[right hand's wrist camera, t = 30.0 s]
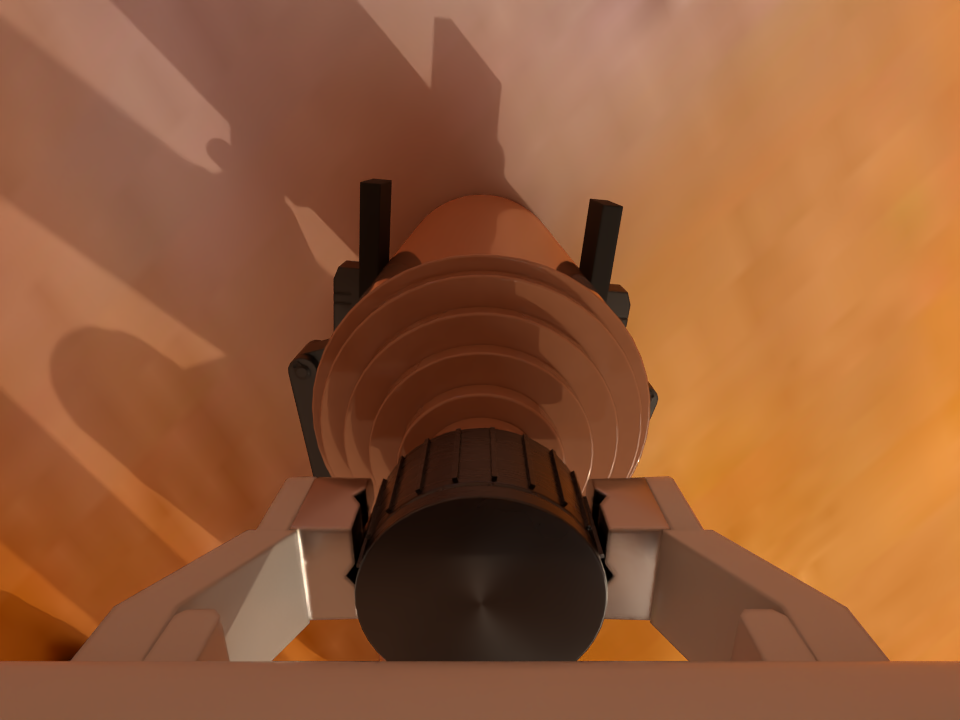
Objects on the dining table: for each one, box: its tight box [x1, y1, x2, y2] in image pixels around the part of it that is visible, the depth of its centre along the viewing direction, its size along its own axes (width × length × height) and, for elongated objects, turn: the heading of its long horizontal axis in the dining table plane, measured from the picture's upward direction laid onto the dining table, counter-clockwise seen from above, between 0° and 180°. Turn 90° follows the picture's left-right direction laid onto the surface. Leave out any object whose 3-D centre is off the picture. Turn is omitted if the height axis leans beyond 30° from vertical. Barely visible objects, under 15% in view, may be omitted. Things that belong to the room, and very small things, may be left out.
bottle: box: [312, 194, 650, 514], centre depth 19 cm, size 8×8×22 cm
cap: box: [354, 427, 608, 661], centre depth 9 cm, size 4×4×2 cm
